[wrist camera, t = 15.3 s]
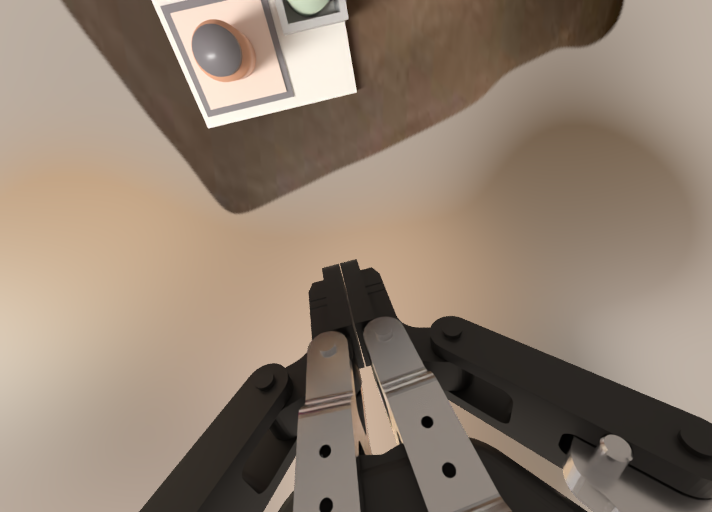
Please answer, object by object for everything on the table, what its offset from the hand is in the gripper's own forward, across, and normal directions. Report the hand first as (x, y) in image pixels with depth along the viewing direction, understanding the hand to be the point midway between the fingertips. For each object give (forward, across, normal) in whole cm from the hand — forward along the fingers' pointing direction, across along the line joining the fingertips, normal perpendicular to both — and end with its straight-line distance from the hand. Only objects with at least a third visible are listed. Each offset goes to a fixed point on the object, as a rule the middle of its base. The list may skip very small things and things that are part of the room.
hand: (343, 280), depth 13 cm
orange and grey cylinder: (+26, +5, -9) cm, 28 cm away
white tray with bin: (+27, +2, -10) cm, 29 cm away
